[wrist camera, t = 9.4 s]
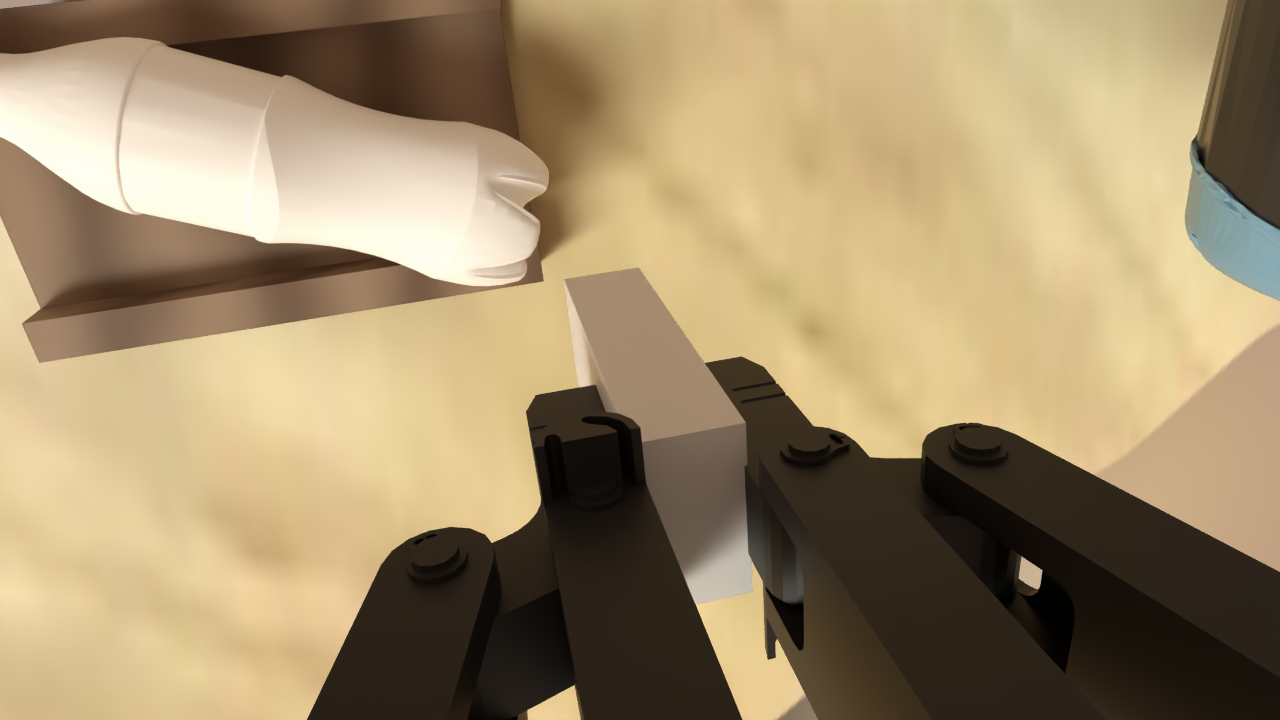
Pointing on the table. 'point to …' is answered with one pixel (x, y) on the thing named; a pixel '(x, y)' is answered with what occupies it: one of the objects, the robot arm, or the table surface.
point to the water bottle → (273, 158)
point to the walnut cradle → (220, 260)
